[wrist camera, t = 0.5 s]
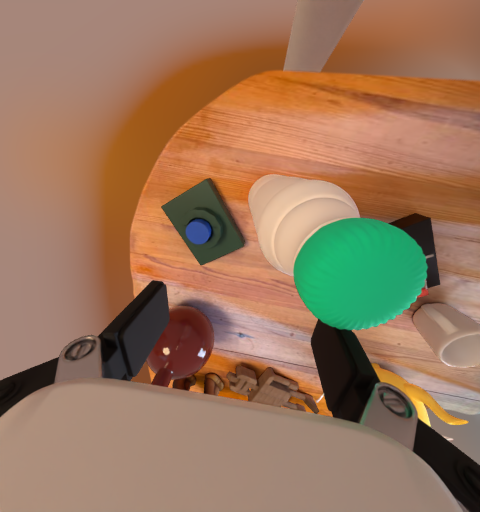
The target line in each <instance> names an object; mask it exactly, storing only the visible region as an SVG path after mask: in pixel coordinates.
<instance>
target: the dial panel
mask: <svg viewBox="0 0 480 512" xmlns="http://www.w3.org/2000/svg"><path fill="white" fill-rule="evenodd" d="M389 224H390V225H393V226H395V227H397V228H399V229H401V230H403V231H404V232H406V233H407V234H408V235H409V236H410V237H412V238H413V239H414V240H415V241H416V242H417V244H418V245H419V246H420V247H421V248H422V251H423V254H424V255H425V257H426V263H427V267H428V268H427V271H426V272H427V278H426V283H427V288H430V287H433V286H437V285H440V280H439V273H438V266H437V259H436V252H435V245H434V239H433V232H432V225H431V218H429V217H426V216H423V215H419V214H416V213H414V214H412V215H409V216H407V217H404V218H401V219H399V220H396V221H394V222H391V223H389Z"/></svg>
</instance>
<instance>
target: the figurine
mask: <svg viewBox="0 0 480 512" xmlns="http://www.w3.org/2000/svg"><path fill="white" fill-rule="evenodd" d="M195 383H196V378H195V377H194V376H190V377H187V378H184V379H180V380H174V381H173V388H174V389H180V390H186V391H189V389H190V386H193V385H195ZM223 387H224V384H223V383H222V381H221V380H220V378H219V377H218V376H217V375H215V374H207V375H206V376H205V381H204V394H209V395H215V396H218V394H219V391H221V390H222V389H223Z"/></svg>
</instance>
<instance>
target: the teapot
mask: <svg viewBox="0 0 480 512" xmlns="http://www.w3.org/2000/svg"><path fill="white" fill-rule="evenodd" d="M371 364H372V366H373V368H374V370H375V372H376V374H377V376H378V377H379V379H380V381H381V382H386V383H389V384H392V385H393V386H395V387H397V388H399V389H400V390H401V391H402V392H404V393H405V394H406V395H407V396H408V397H409V398H410V400H411V401H412V402H413V404H414V405H415V407H416V410H417V413H418V418H419V419H420V420H422V421H423V422H424V423H426V424H427V425H428V426H430V422H429V418H428V415H427V412H426V409H425V407H424V404H426V405H427V406H428V407H429V408H430V409H431V410H432V411H433V412H434V413H435V414H436V415H437V416H438V417H439V418H440V419H442V420H443V421H444V422H446V423H448V424H452V425H461V424H466V423H468V421H466V420H462V419H458V418H456V417H453V416H452V415H450V414H448V413H447V412H446V411H444V409H443V408H441V406H440V405H439V404H438V403H437V402H436V401H435V400H434V399H433V398H432V397H431V395H430V394H428V393H427V392H426V391H425V390H423V389H422V388H420V387H419V386H416V385H413V384H410V383H408V382H407V381H406V380H404V379H403V378H401V377H400V376H398V375H397V374H395V373H393V372H390V371H388V370H385V369H381V368H380V367H379V365H378V364H376V363H371ZM423 403H424V404H423ZM430 427H431V426H430Z"/></svg>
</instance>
